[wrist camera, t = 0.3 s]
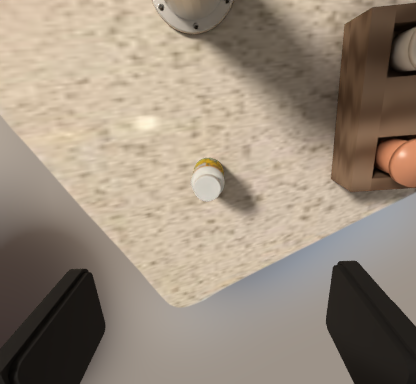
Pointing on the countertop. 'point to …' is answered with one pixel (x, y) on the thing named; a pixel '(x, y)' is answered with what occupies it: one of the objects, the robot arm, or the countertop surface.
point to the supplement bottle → (207, 179)
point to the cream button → (403, 51)
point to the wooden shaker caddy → (372, 98)
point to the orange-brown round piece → (397, 160)
